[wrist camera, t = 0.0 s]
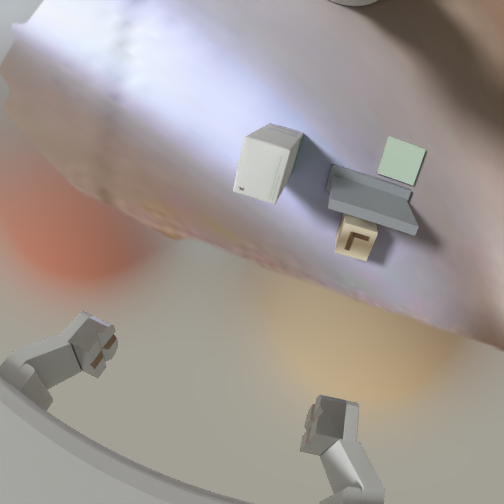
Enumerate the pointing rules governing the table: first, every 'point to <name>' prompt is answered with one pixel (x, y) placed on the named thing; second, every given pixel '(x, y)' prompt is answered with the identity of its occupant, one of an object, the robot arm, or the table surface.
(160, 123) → the table surface
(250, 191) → the skincare box
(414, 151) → the coaster
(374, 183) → the screen
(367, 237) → the letter cube
